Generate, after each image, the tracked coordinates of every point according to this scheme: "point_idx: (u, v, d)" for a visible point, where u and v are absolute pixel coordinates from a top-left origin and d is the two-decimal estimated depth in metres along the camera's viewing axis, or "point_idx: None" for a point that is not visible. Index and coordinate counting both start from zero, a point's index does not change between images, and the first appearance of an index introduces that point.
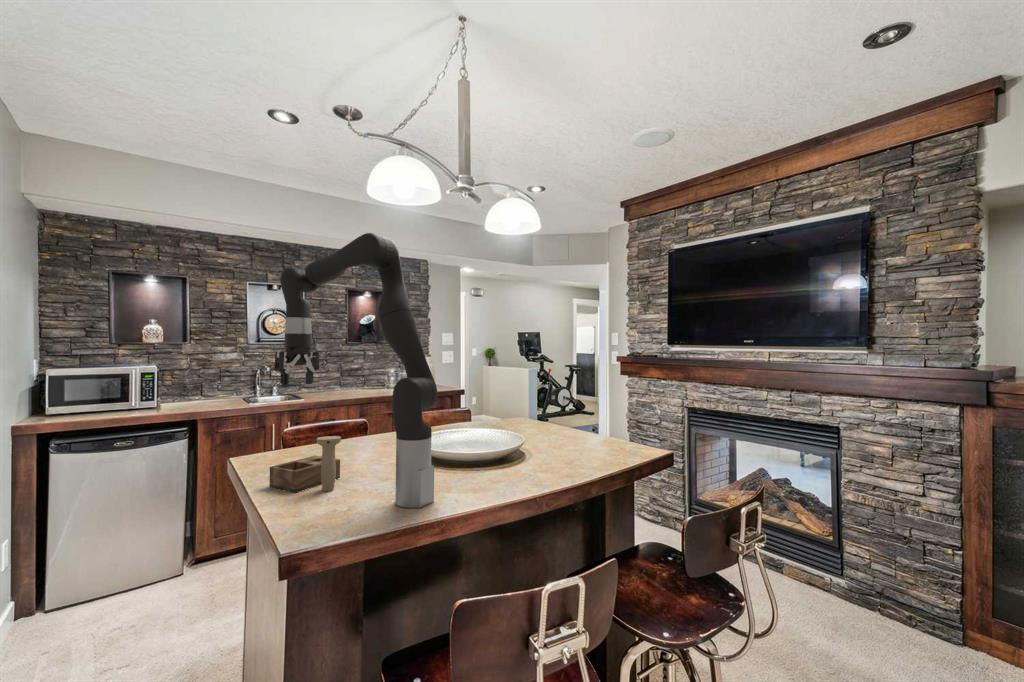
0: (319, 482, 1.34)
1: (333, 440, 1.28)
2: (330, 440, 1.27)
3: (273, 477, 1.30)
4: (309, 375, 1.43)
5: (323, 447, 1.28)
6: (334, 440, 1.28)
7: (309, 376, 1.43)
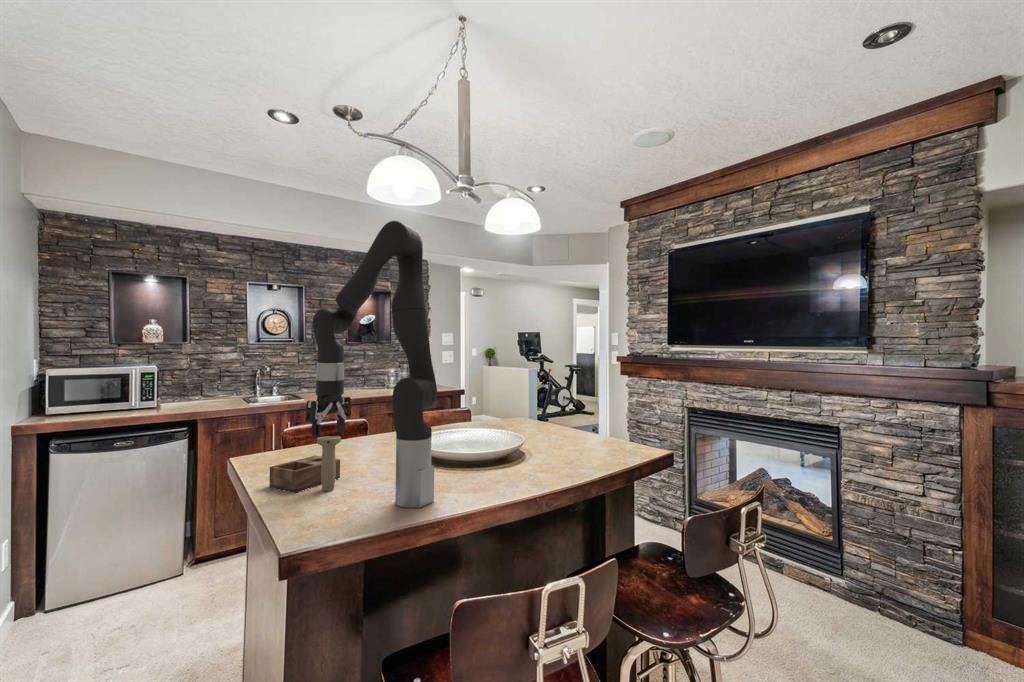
0: (319, 482, 1.34)
1: (333, 440, 1.28)
2: (330, 440, 1.27)
3: (273, 477, 1.30)
4: (341, 423, 1.33)
5: (323, 447, 1.28)
6: (334, 440, 1.28)
7: (341, 424, 1.33)
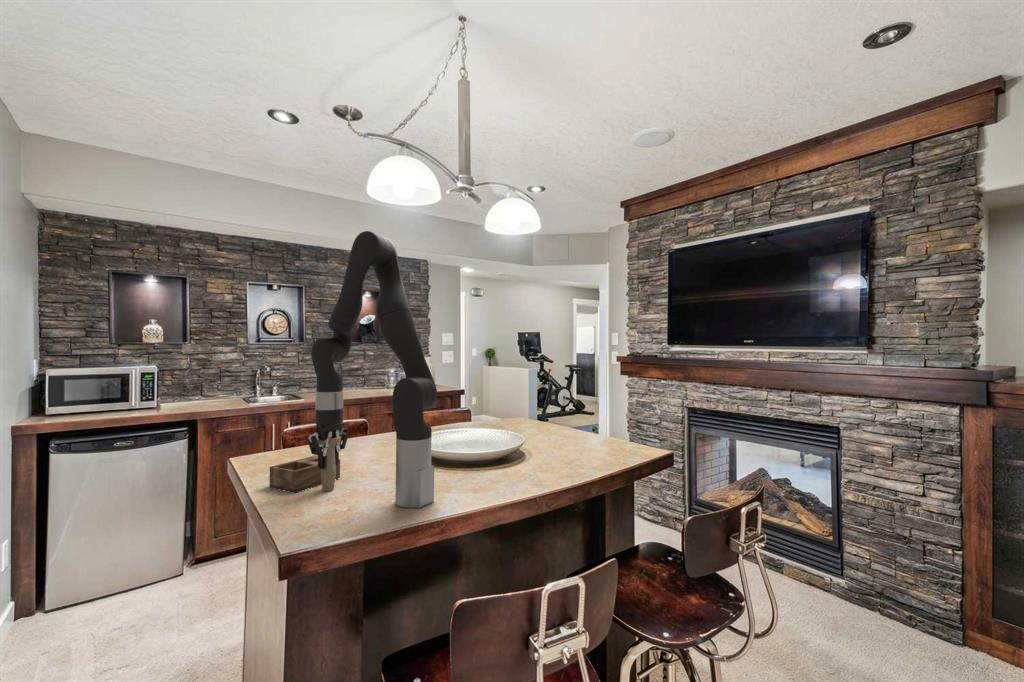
0: (319, 482, 1.34)
1: (333, 440, 1.28)
2: (330, 440, 1.27)
3: (273, 477, 1.30)
4: None
5: None
6: (334, 440, 1.28)
7: None
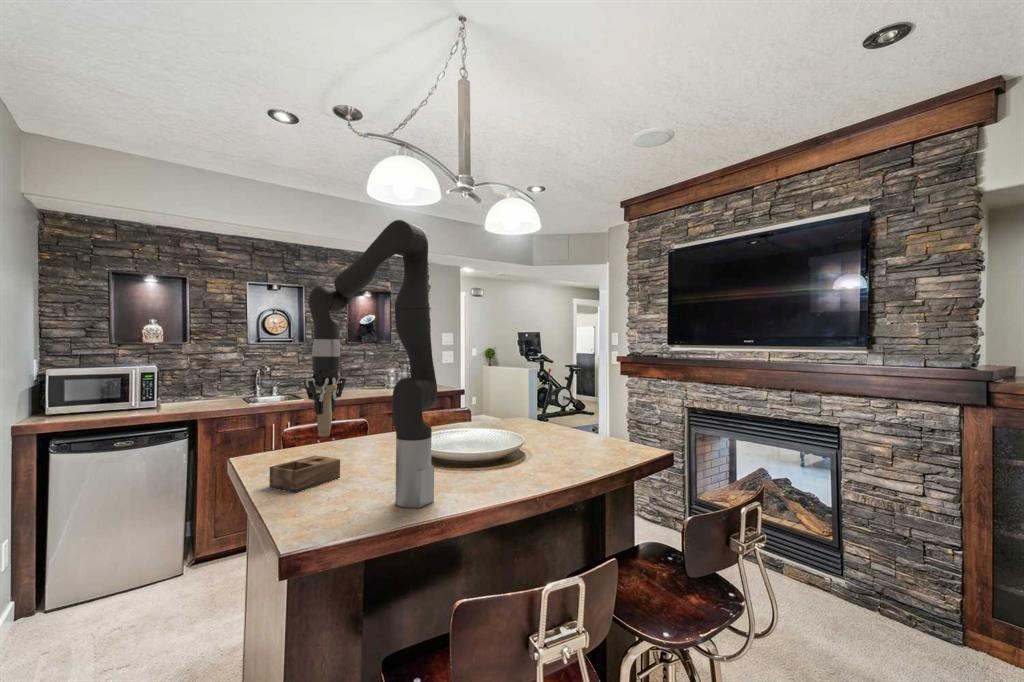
0: (319, 482, 1.34)
1: (329, 386, 1.31)
2: (327, 386, 1.30)
3: (273, 477, 1.30)
4: (331, 403, 1.34)
5: None
6: (330, 387, 1.31)
7: (331, 404, 1.34)
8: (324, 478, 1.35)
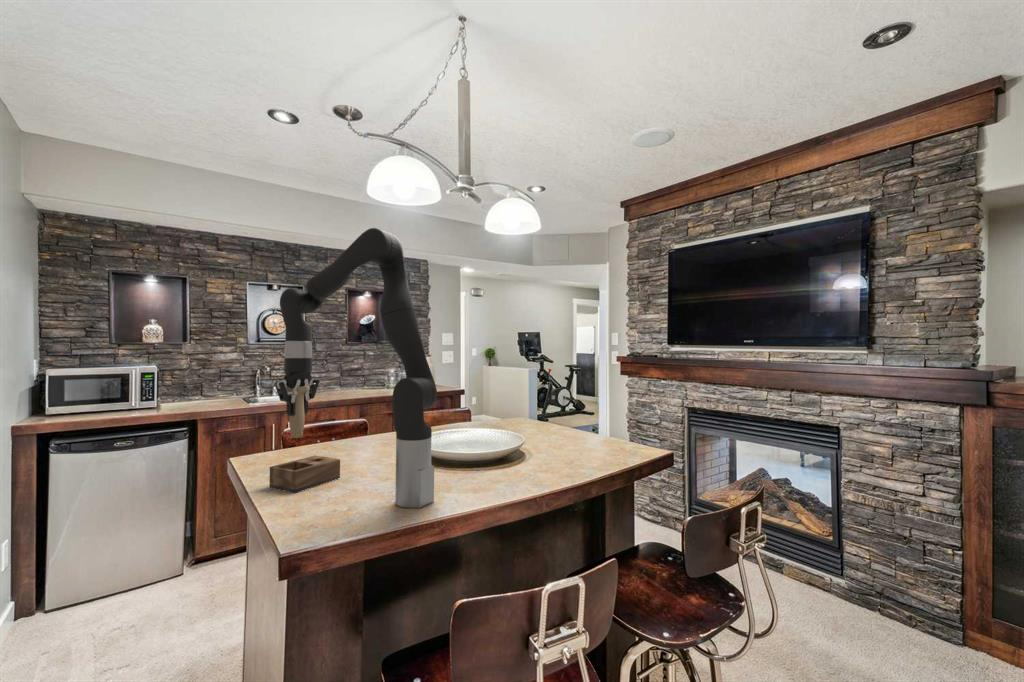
0: (319, 482, 1.34)
1: (301, 388, 1.32)
2: (298, 388, 1.31)
3: (273, 477, 1.30)
4: (304, 404, 1.35)
5: None
6: (302, 388, 1.32)
7: (304, 405, 1.35)
8: (324, 478, 1.35)
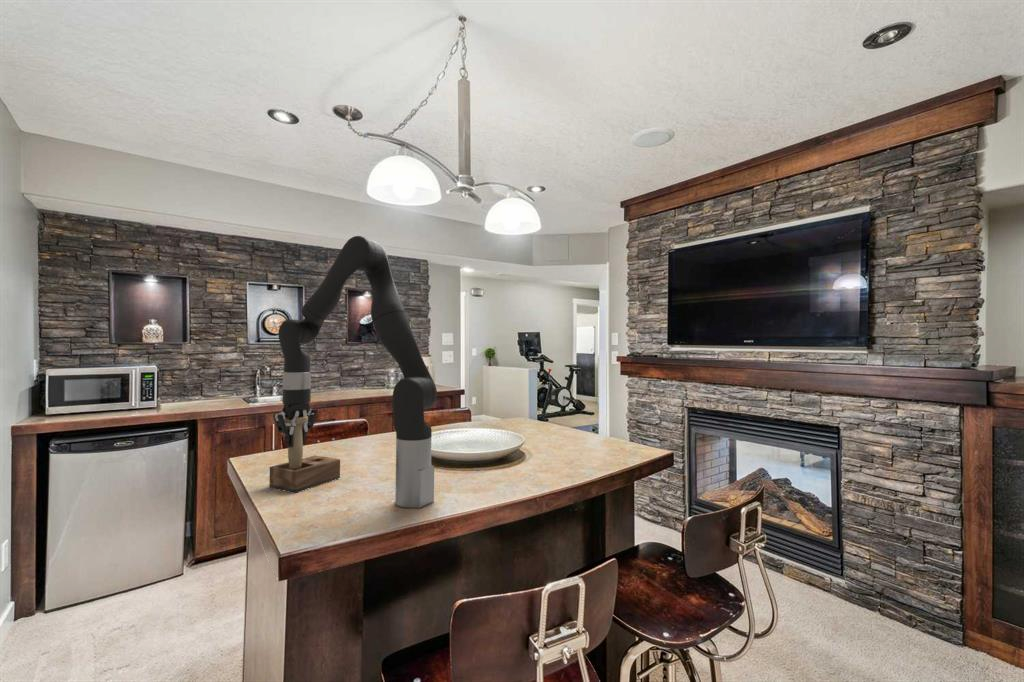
0: (319, 482, 1.34)
1: (300, 419, 1.31)
2: (297, 419, 1.31)
3: (273, 477, 1.30)
4: (302, 435, 1.34)
5: None
6: (301, 419, 1.31)
7: (302, 436, 1.34)
8: (324, 478, 1.35)
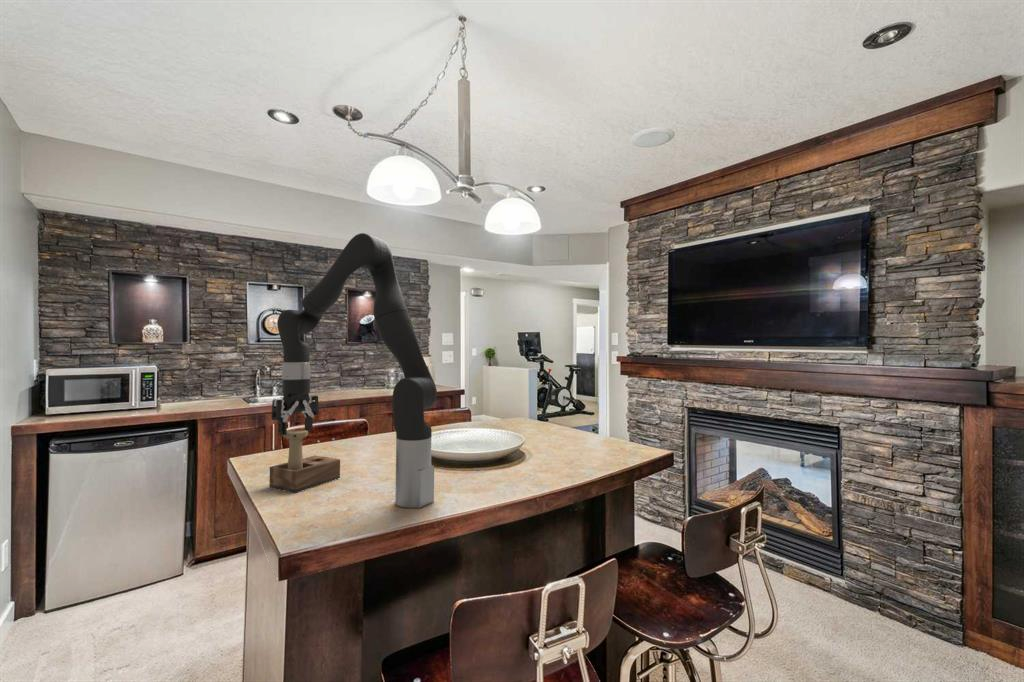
0: (319, 482, 1.34)
1: (300, 434, 1.31)
2: (296, 434, 1.31)
3: (273, 477, 1.30)
4: (308, 421, 1.36)
5: (290, 441, 1.31)
6: (301, 434, 1.31)
7: (308, 422, 1.36)
8: (324, 478, 1.35)
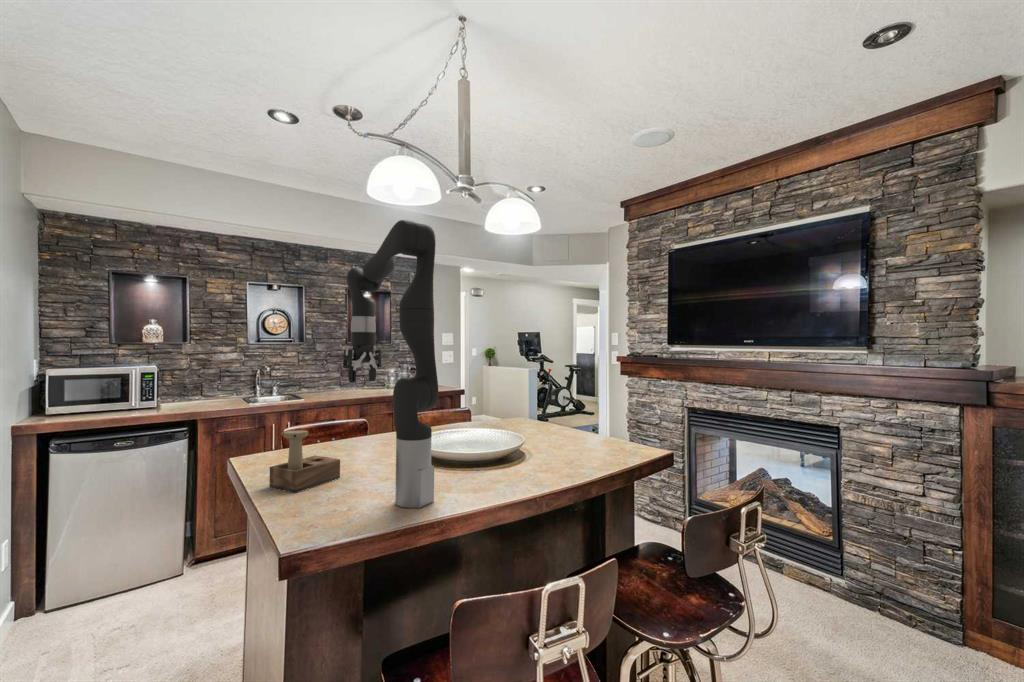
0: (319, 482, 1.34)
1: (299, 434, 1.31)
2: (296, 434, 1.31)
3: (273, 477, 1.30)
4: (372, 372, 1.47)
5: (290, 441, 1.31)
6: (301, 434, 1.31)
7: (372, 373, 1.47)
8: (324, 478, 1.35)
